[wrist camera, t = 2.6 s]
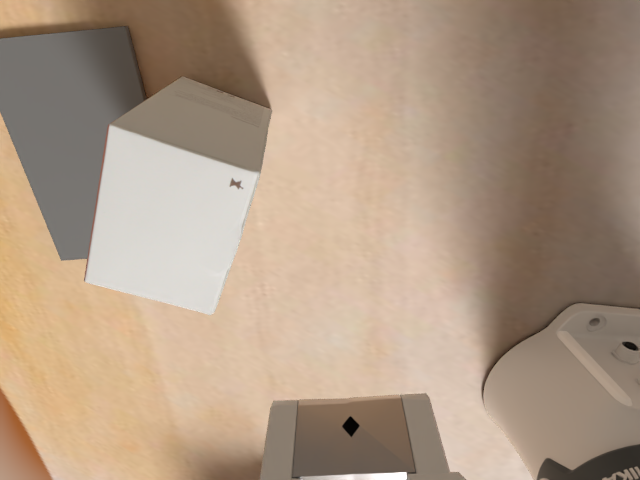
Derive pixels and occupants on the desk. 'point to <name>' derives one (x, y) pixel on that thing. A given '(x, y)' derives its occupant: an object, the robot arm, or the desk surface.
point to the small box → (176, 194)
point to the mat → (67, 119)
